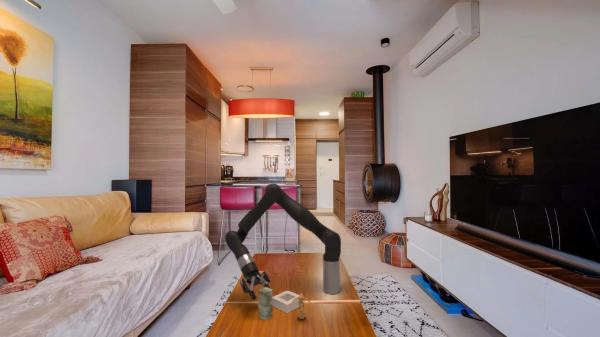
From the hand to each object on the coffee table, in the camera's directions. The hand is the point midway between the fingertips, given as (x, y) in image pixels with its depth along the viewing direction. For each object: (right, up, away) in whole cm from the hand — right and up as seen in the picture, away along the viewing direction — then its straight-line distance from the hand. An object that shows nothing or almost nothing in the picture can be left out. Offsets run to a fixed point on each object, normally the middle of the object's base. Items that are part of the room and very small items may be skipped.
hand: (262, 296), depth 119 cm
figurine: (+18, -8, -4) cm, 20 cm away
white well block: (+11, -9, +9) cm, 17 cm away
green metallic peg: (+2, -8, -2) cm, 9 cm away
